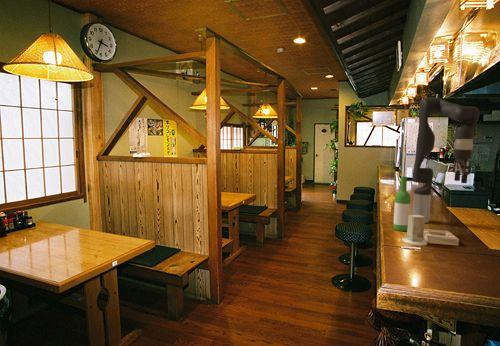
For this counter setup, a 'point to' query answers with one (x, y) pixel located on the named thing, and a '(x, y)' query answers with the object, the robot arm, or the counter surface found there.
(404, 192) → the wine bottle
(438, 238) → the beige flat frame
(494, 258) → the counter surface
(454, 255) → the counter surface
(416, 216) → the skincare box
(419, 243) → the dish
